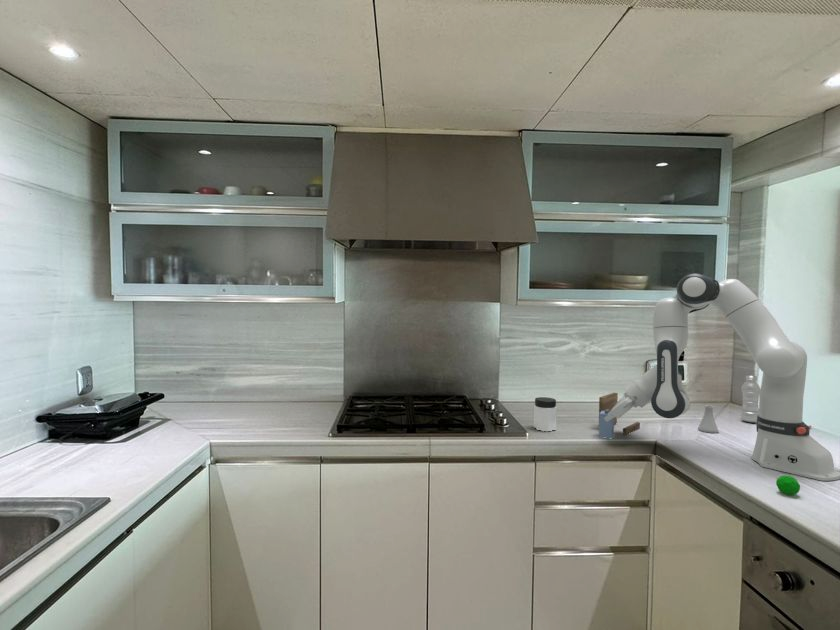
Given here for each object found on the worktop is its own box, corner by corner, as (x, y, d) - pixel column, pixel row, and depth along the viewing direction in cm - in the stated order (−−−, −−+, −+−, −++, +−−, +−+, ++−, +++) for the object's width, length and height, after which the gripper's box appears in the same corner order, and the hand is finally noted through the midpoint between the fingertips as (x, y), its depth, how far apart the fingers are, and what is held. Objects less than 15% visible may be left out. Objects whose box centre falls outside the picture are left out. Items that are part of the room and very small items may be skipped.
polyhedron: (802, 499, 120) (802, 481, 120) (779, 495, 122) (779, 478, 122) (796, 492, 124) (796, 475, 124) (773, 488, 126) (774, 471, 126)
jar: (558, 432, 178) (559, 401, 178) (538, 432, 178) (538, 401, 178) (551, 425, 187) (552, 396, 187) (531, 425, 187) (532, 396, 186)
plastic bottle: (757, 425, 192) (759, 377, 191) (738, 421, 197) (740, 375, 196) (761, 422, 196) (763, 376, 195) (742, 419, 201) (744, 374, 200)
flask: (722, 434, 178) (723, 408, 178) (701, 432, 180) (702, 407, 179) (714, 429, 185) (715, 404, 185) (694, 427, 187) (695, 403, 186)
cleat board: (639, 428, 185) (640, 396, 184) (625, 435, 175) (626, 401, 174) (613, 423, 192) (614, 392, 192) (598, 429, 183) (599, 397, 182)
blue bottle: (613, 435, 175) (614, 409, 174) (611, 439, 170) (612, 412, 170) (601, 433, 177) (601, 408, 177) (598, 437, 173) (599, 410, 172)
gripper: (640, 407, 158) (609, 430, 163) (646, 397, 176) (617, 418, 181) (627, 392, 160) (596, 416, 166) (633, 384, 178) (605, 405, 183)
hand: (607, 417), depth 173 cm, fingers open, 8 cm apart
